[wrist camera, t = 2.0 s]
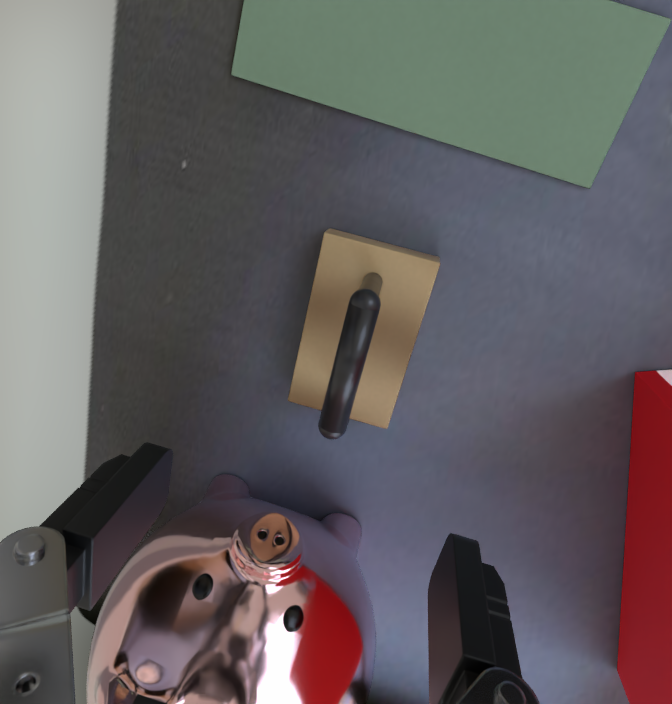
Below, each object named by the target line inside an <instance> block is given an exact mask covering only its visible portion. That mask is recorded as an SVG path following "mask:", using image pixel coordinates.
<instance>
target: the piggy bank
mask: <svg viewBox="0 0 672 704" xmlns="http://www.w3.org/2000/svg"><path fill="white" fill-rule="evenodd" d="M361 534H362V530H361V526H360V524H359V523H358V522H357V521H356V520H355V519H354V518H352V517H351V516H349V515H346V514H343V513H332V514H329V515H327V516H326V517H324V519H323V520H322V521H318V520H316V519H313V518H311V517H309V516H306V515H304V514H301V513H299V512H296V511H293V510H290V509H287V508H285V507H282V506H279V505H276V504H273V503H270V502H267V501H263V500H259V499H256V498H251V497H250V490H249V487H248V486H247V484H246V483H245V482H244V481H243V480H242V479H240V478H238V477H236V476H233V475H229V474H222V475H218V476H216V477H215V478H214V479H213V480H212V481H211V483H210V485H209V487H208V489H207V491H206V494H205V496H204V497H203V499H202V501H201V502H200V503H199V504H197V505H195V506H193V507H191V508H189V509H187V510H186V511H184V512H182V513H180V514H178V515H177V516H175V517H173V518H172V519H170V520H169V521H167V522H166V523H165V524H163V525H162V526H160V527H159V528H158V529H157V530H155V531H154V532H153V533H152V534H151V535H149V536H148V537H147V538H146V539H145V540H144V541H143V542H142V543H141V544H140V545H139V546H138V548H137V549H136V550H135V551H134V552H133V554H132V555H131V556H130V557H129V559H128V560H127V561H126V563H125V564H124V566H123V567H122V569H121V570H120V572H119V573H118V575H117V577H116V578H115V580H114V582H113V584H112V586H111V588H110V589H109V591H108V594H107V596H106V598H105V600H104V603H103V605H102V607H101V610H100V613H99V616H98V619H97V622H96V625H95V629H94V633H93V637H92V642H91V647H90V653H89V659H88V669H87V704H133V702H134V700H135V698H136V696H137V694H139V695H142V696H145V697H149V698H152V699H155V700H158V701H161V702H164V703H167V704H366V703H367V700H368V696H369V693H370V688H371V684H372V679H373V674H374V667H375V657H376V627H375V618H374V612H373V607H372V603H371V599H370V595H369V592H368V588H367V585H366V583H365V580H364V577H363V574H362V572H361V569H360V567H359V564H358V562H357V559H356V558H357V552H358V547H359V543H360V539H361Z"/></svg>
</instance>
